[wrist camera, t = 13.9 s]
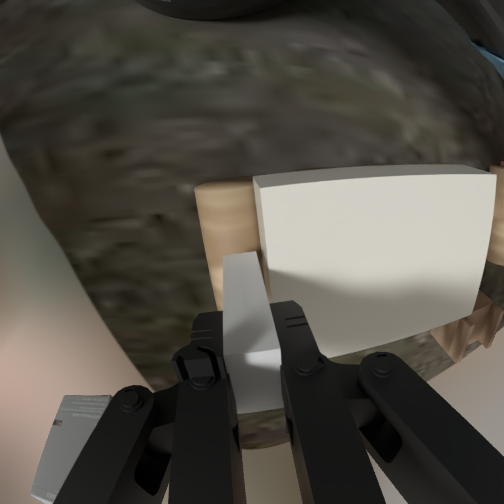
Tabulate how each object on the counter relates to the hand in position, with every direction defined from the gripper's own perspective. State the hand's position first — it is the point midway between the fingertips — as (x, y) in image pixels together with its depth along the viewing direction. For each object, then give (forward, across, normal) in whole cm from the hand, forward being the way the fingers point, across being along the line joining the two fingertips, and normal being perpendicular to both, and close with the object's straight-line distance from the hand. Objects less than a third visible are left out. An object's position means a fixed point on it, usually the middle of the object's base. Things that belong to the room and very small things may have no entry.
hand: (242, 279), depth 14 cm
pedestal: (+8, +23, -13) cm, 28 cm away
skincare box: (+9, -21, -21) cm, 31 cm away
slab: (+1, +8, 0) cm, 8 cm away
